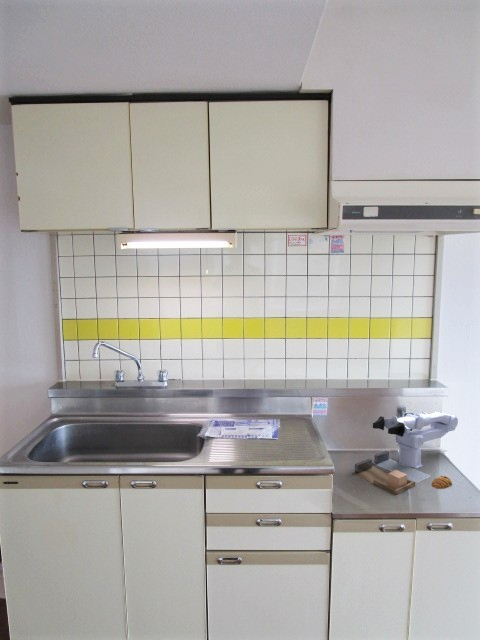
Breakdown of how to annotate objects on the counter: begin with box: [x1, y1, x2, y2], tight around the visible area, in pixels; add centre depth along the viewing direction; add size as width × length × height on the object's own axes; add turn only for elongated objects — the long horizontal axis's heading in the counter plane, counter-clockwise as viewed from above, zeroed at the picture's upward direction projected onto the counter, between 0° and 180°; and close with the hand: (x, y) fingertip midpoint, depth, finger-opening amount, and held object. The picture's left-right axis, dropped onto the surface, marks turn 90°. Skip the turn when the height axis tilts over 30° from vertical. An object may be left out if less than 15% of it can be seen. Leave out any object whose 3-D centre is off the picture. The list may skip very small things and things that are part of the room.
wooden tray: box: [352, 458, 416, 495], centre depth 176 cm, size 12×22×5 cm, turn 34°
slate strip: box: [372, 450, 432, 484], centre depth 184 cm, size 10×22×5 cm, turn 34°
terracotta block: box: [387, 470, 407, 489], centre depth 170 cm, size 5×5×5 cm
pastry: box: [431, 475, 453, 490], centre depth 172 cm, size 9×7×4 cm
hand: (380, 428), depth 177 cm, fingers open, 7 cm apart
